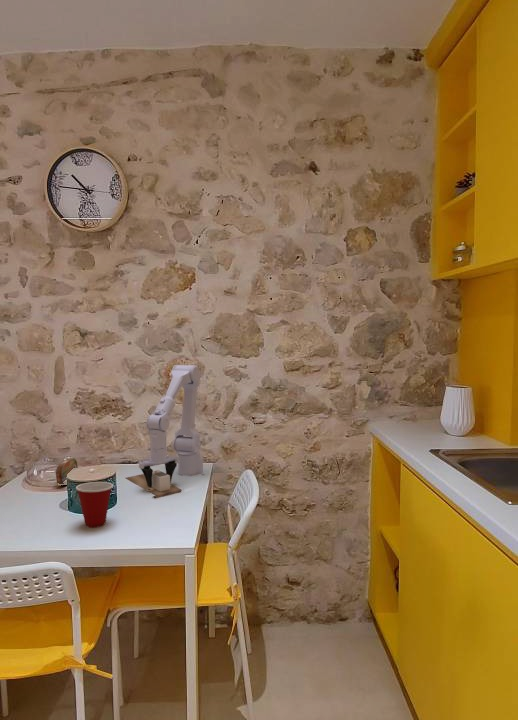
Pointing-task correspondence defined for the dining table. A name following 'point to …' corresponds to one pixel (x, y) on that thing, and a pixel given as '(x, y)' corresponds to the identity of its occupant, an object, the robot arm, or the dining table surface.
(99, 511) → the plastic cup
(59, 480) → the brown arched piece
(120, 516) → the dining table surface
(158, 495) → the floorboard
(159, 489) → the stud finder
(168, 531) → the dining table surface
